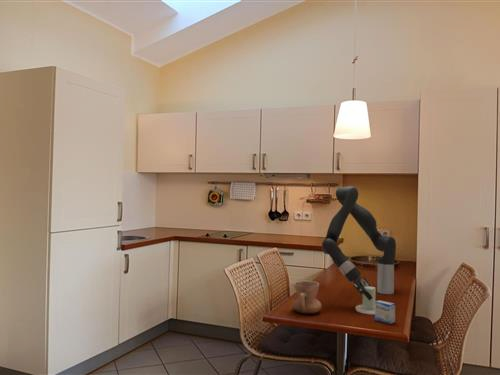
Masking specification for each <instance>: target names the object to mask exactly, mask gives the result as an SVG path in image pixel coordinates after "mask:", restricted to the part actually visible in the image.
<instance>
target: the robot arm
mask: <svg viewBox="0 0 500 375" xmlns="http://www.w3.org/2000/svg"><path fill="white" fill-rule="evenodd" d="M335 197H336V200H337V201H338V203H339V204H341V205H342V206H341V208H339V210H338V211H337V212H336V214H335V215H334V216H333V218H332V219H331V220H330V222H329V226H328V227H327V228H328V229H327V232H326V235H325V237H324V240H323V241H322V243H321V251H323V253H324V254H326V255H328V256H329V257H330V258H331V260H332V263H333V264H334V265H335V266H336V267H337V268H338V269H339V271H340V273H342V275H343V276H344V277H345V278H346V280H347V281H348V283H352V282H353V285H352V286H353V288H354V289H355V290H356V291H358V292H359V293H360V294H361V295H363V294H364V295H365V296H366V297H367V298H368V300H371V299H372V298H373V297H372V296H371V295H370V294H369V292H367V290H366V289H365V286H370V287H372V286H371V284H370V283H369V282H368V281H367V278H365V277H361V275H362V272H361V271H360V270H359V268H358V267H357V266H356V265H355V264H354V263H353V262H352V261H351V260H350V259H349V258H348V256H346V254H344V252H343V251H342V249H341V248H340V247H339V245H338V241H339V238H340V235H341V233H342V230H343V228H344V225H345V223H346V221H347V219H348V217H349V215H351V216H352V218H354V220H355V221H356V223H357V224H358V225H359V227H360V228H361V229H362V230H363V231H364V233H365V234H366V235H367V237H368V238H369V239H370V241H371V243H372V244H373V246H374V247H375V249H377V251H380V252H383V255H382V256H380V257H378V258H377V281H376V282H377V284H376V285H377V287H376V288H377V290H376V292H377V293H378V294H380V295H381V294H382V295H394V294H395V292H394V290H395V285H394V284H395V260H396V253H397V252H396V251H397V243H396V239H395V238H394V237H393V236H386V235H382V234H381V233H380V232H379V230H378V229H377V227H378V226H377V225H378V224H377V220H376V218H375V217H374V216H373V214H372V213H371V211H370V210H368V209H367V208H365V207H363V206H361V205H360V204H359V203H357V201H358V199H359V190H358V189H357V187H356V186H350V185H349V186H341V187H339V188H337V189H336V190H335Z"/></svg>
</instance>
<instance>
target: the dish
mask: <svg viewBox="0 0 500 375" xmlns="http://www.w3.org/2000/svg"><path fill="white" fill-rule="evenodd" d="M355 311H356V312H357V313H360V314H363V315H364V314H365V315H370V316H373V315H374V316H375V306H374V307H373V308H372V307H366V306H362V304H358V305H356V306H355Z"/></svg>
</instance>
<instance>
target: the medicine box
mask: <svg viewBox="0 0 500 375" xmlns="http://www.w3.org/2000/svg"><path fill="white" fill-rule="evenodd" d="M374 321H378V322H382V323H386V324H390V325H391V324H394V323H395V322H396V303H395V302H394V303H393V302H391V301H384V300H380V299H379V300H375V315H374Z"/></svg>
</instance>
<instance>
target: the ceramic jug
mask: <svg viewBox="0 0 500 375" xmlns="http://www.w3.org/2000/svg"><path fill="white" fill-rule="evenodd" d="M293 286H294V289H295V292H296V295H297V297H298V298H296V299H294V300H293V302H292V304H291V307H292V309H293V310H294V311H295V312H297V313H300V314H303V315H305V314H306V315H312V314H313V315H314V314H317V313H318V312H320V311H321V309H322V307H323V305H322V302H321V301H319V299H317V298H316V297H317V294H318V292H319V287H320V283H319V282H318V281H314V280H311V281H310V280H299V281H296V282H294V283H293Z"/></svg>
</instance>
